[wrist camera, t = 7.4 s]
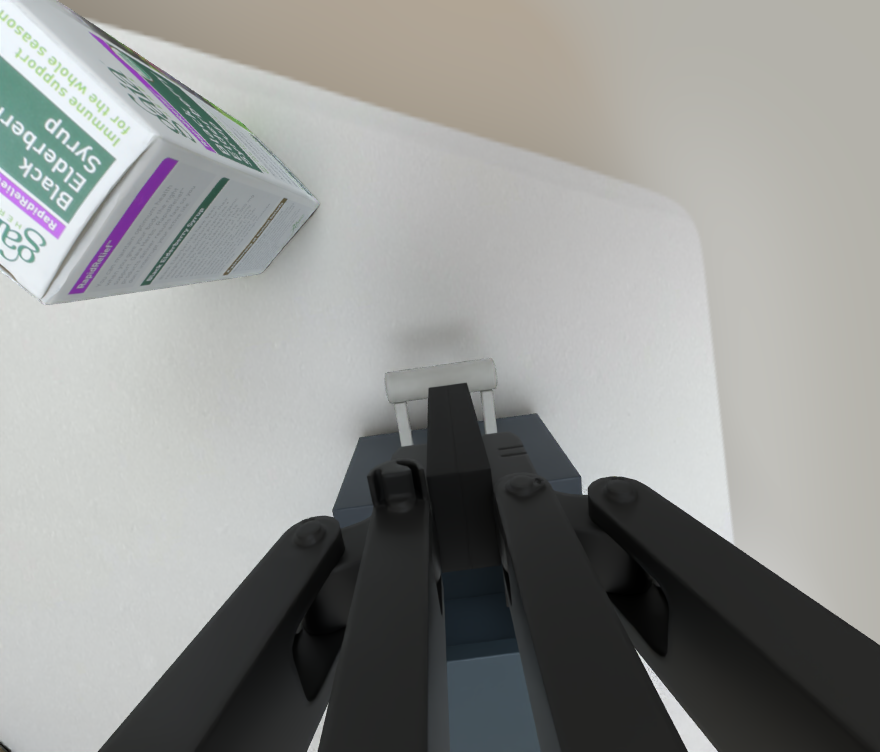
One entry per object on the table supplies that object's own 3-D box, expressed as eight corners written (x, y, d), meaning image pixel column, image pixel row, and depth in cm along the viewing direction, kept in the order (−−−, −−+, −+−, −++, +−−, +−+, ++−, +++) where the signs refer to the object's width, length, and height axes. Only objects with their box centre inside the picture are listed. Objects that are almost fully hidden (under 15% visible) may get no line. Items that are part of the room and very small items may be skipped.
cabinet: (376, 542, 30) (352, 674, 20) (549, 518, 29) (607, 641, 20) (407, 689, 34) (400, 855, 24) (559, 669, 34) (611, 828, 24)
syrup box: (324, 203, 23) (167, 123, 9) (260, 279, 24) (31, 311, 10) (242, 122, 22) (-84, -113, 8) (178, 206, 23) (-209, 128, 9)
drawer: (342, 359, 25) (305, 405, 17) (531, 333, 25) (577, 367, 17) (394, 602, 30) (382, 719, 22) (549, 582, 30) (590, 692, 22)
